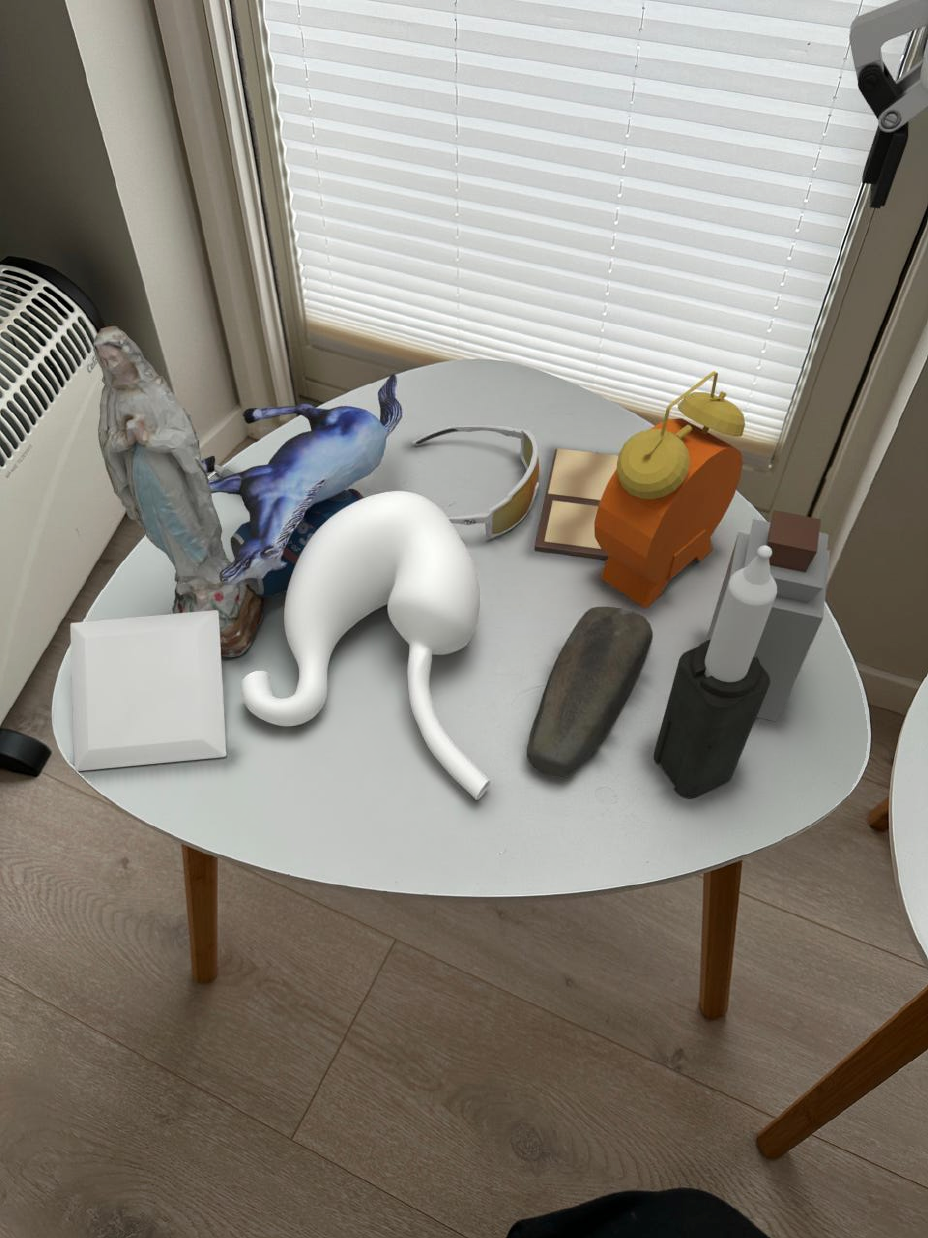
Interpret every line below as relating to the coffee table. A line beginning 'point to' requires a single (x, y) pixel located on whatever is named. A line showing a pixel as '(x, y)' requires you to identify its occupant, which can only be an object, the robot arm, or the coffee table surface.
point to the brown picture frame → (574, 503)
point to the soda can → (294, 541)
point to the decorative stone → (587, 688)
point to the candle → (719, 688)
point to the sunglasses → (516, 500)
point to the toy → (303, 474)
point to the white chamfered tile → (147, 690)
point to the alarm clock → (669, 495)
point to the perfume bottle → (785, 597)
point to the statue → (168, 487)
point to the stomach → (363, 582)
